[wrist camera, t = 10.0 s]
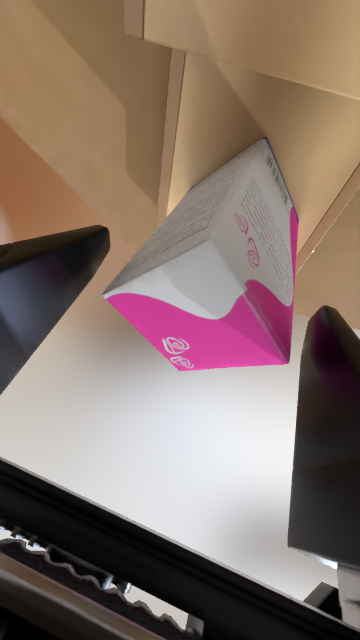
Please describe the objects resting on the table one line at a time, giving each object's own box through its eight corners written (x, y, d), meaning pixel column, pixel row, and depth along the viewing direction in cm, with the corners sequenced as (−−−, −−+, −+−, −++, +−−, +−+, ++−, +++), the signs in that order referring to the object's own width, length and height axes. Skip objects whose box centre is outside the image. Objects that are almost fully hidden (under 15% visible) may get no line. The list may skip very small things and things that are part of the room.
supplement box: (185, 191, 16) (93, 293, 9) (267, 132, 13) (221, 225, 5) (224, 257, 19) (177, 376, 12) (301, 223, 15) (301, 367, 8)
